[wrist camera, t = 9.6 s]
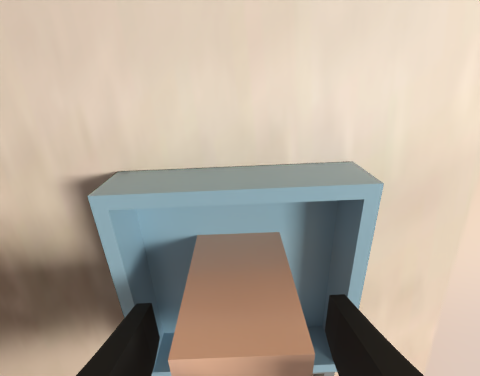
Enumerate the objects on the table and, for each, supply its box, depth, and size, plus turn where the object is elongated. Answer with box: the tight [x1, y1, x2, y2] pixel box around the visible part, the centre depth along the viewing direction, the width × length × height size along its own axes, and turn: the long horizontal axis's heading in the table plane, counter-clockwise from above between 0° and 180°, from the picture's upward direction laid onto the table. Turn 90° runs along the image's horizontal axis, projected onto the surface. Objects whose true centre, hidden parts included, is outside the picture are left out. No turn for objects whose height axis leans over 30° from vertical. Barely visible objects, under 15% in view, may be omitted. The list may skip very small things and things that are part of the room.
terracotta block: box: [168, 232, 315, 376], centre depth 10 cm, size 4×4×6 cm
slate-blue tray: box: [87, 162, 384, 376], centre depth 12 cm, size 11×11×3 cm
